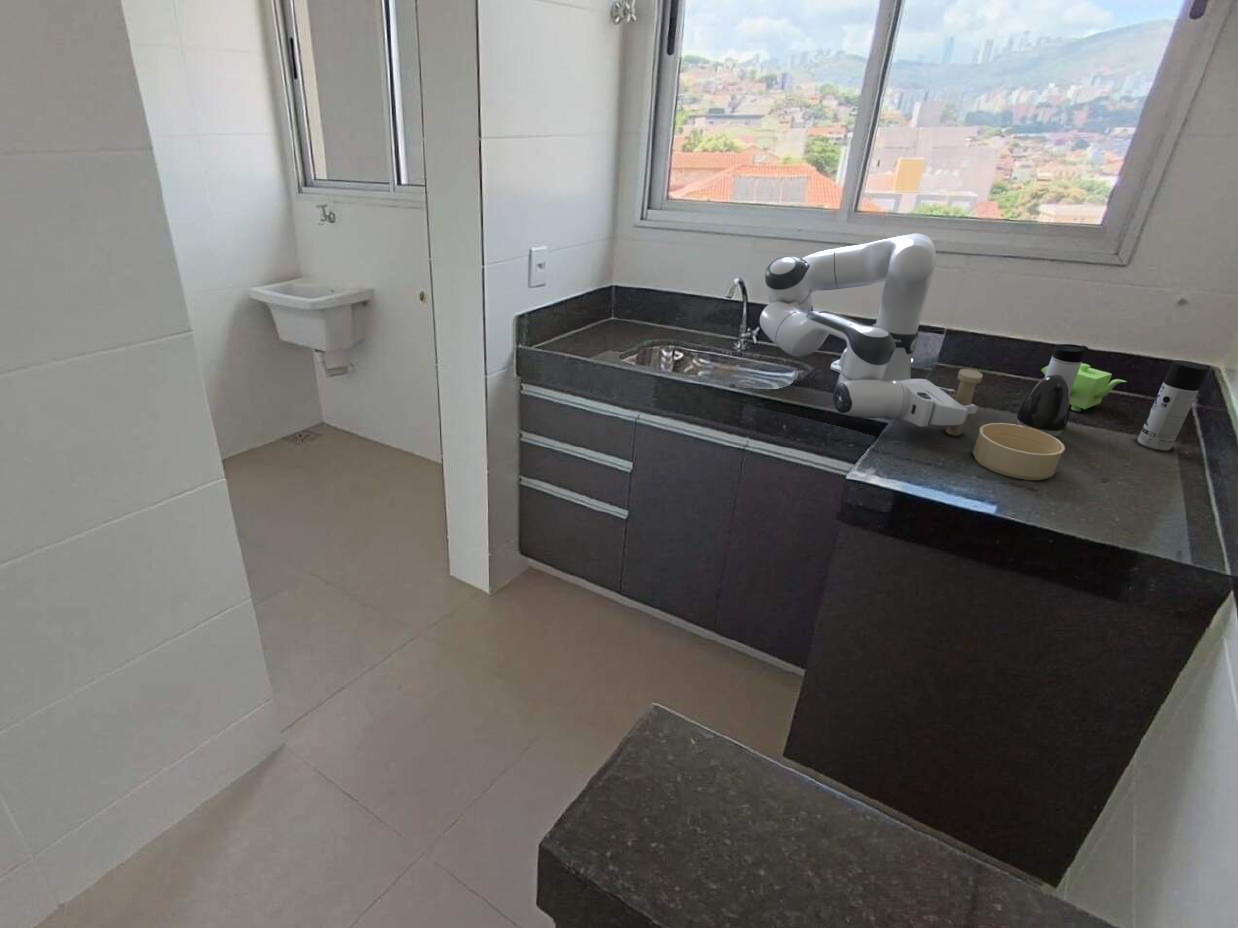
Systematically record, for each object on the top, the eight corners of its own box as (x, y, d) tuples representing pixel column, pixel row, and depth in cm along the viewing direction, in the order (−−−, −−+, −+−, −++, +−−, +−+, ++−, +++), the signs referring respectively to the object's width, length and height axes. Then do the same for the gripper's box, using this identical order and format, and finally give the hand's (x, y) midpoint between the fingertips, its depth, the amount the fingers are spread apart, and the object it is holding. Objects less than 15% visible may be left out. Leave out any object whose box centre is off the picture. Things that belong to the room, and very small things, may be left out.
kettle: (1112, 417, 174) (1129, 376, 169) (1054, 412, 176) (1069, 371, 171) (1085, 397, 188) (1100, 358, 183) (1031, 392, 189) (1044, 353, 184)
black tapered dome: (1015, 440, 158) (1036, 378, 151) (1009, 424, 167) (1029, 365, 160) (1064, 448, 155) (1088, 386, 148) (1055, 431, 164) (1077, 372, 157)
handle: (941, 436, 158) (959, 375, 151) (941, 426, 163) (959, 367, 157) (964, 440, 156) (983, 379, 150) (963, 430, 162) (981, 371, 155)
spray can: (1140, 436, 164) (1175, 357, 155) (1173, 446, 160) (1211, 365, 150) (1133, 444, 159) (1169, 363, 150) (1168, 454, 155) (1207, 371, 146)
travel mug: (1063, 429, 166) (1093, 350, 157) (1034, 426, 167) (1062, 347, 158) (1054, 419, 171) (1082, 343, 162) (1026, 416, 172) (1052, 340, 163)
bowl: (960, 461, 146) (968, 436, 144) (986, 440, 157) (994, 417, 154) (1042, 488, 137) (1052, 462, 134) (1063, 465, 147) (1073, 440, 144)
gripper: (885, 396, 166) (939, 397, 167) (923, 430, 148) (984, 431, 149) (890, 371, 163) (945, 372, 164) (931, 403, 145) (992, 404, 146)
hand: (964, 401), depth 156 cm, fingers open, 8 cm apart
